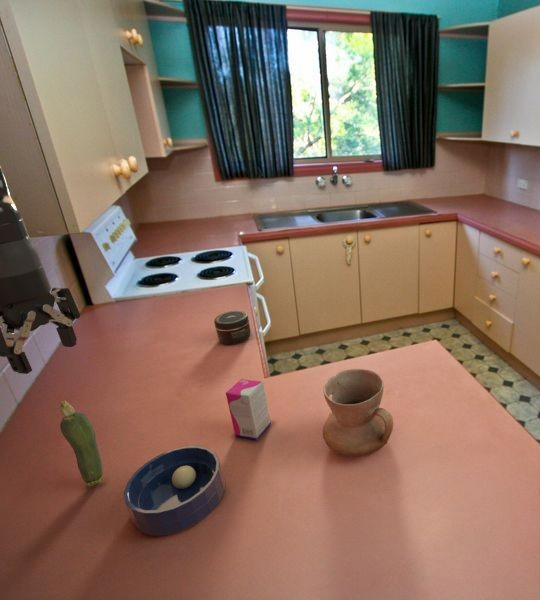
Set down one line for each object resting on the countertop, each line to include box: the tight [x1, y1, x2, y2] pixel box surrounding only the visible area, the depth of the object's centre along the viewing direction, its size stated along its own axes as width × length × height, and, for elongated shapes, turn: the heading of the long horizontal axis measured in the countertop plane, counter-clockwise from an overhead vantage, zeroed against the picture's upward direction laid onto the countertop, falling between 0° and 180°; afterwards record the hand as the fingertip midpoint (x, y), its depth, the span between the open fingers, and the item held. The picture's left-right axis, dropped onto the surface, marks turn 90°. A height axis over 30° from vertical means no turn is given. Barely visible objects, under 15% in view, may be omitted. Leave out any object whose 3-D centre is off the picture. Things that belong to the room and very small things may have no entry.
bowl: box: [123, 445, 226, 536], centre depth 77 cm, size 15×15×6 cm
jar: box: [213, 310, 251, 346], centre depth 133 cm, size 10×10×8 cm
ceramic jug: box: [322, 368, 394, 458], centre depth 88 cm, size 18×14×14 cm
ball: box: [172, 466, 196, 489], centre depth 79 cm, size 4×4×4 cm
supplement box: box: [225, 378, 272, 441], centre depth 93 cm, size 6×6×12 cm
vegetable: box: [59, 399, 104, 488], centre depth 79 cm, size 4×4×20 cm
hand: (48, 358), depth 72 cm, fingers open, 8 cm apart
